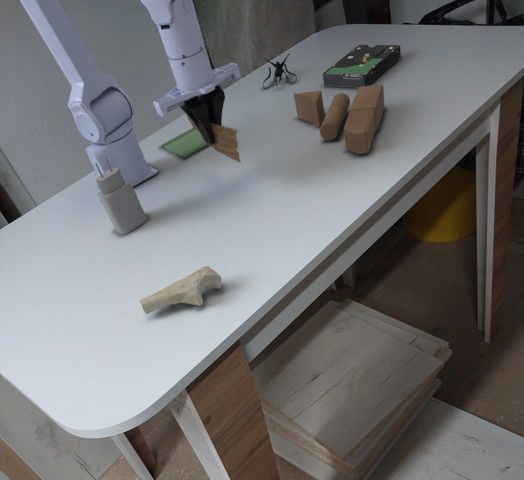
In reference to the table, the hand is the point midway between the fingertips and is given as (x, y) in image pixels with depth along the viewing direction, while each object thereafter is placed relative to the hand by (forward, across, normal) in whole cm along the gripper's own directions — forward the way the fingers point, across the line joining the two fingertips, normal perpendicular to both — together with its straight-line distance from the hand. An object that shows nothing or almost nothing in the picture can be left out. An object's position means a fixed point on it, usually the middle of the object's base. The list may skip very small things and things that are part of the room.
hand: (213, 140), depth 86 cm
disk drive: (+8, +44, +12) cm, 46 cm away
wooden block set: (+8, +22, -3) cm, 23 cm away
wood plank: (+2, 0, 0) cm, 2 cm away
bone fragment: (+8, -21, -21) cm, 31 cm away
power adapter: (+9, -17, +5) cm, 20 cm away
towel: (+8, +6, +22) cm, 25 cm away
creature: (+9, +32, +27) cm, 43 cm away
